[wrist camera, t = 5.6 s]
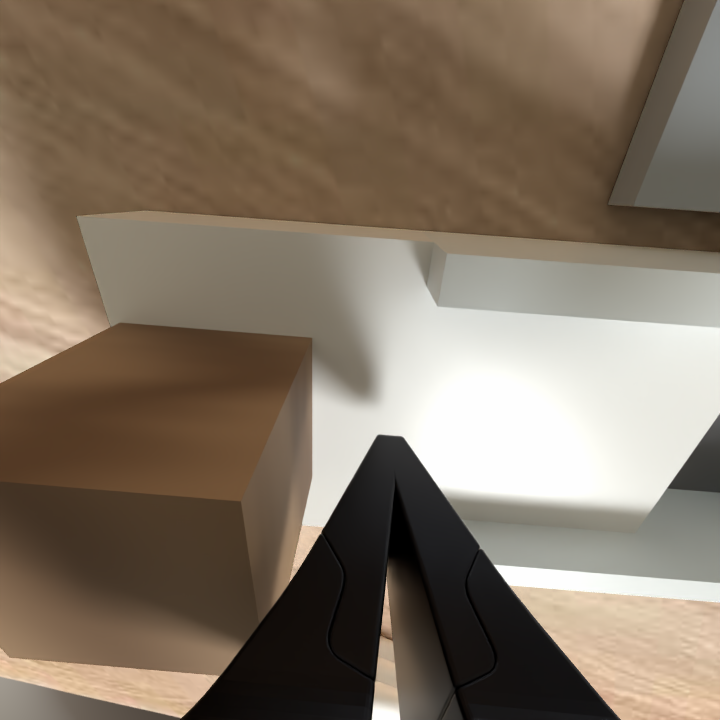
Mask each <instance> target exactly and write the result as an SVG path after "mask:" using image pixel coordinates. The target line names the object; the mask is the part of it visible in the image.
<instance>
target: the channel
mask: <svg viewBox="0 0 720 720" xmlns="http://www.w3.org/2000/svg"><path fill="white" fill-rule="evenodd" d="M76 217H77V220H78V224H79V227H80V230H81V233H82V237H83V240H84V243H85V246H86V250H87V253H88V256H89V259H90V262H91V266H92V269H93V272H94V275H95V279H96V282H97V285H98V288H99V291H100V295H101V298H102V301H103V304H104V308H105V311H106V314H107V317H108V320H109V324H110V327H112V326H114V325H116V324H118V323H132V324H145V325H157V326H170V327H183V328H195V329H208V330H221V331H233V332H246V333H259V334H271V335H284V336H297V337H309V338H312V481H311V485H310V490H309V494H308V499H307V503H306V508H305V512H304V517H303V521H302V525H305V526H317V527H325V525H326V523H327V521H328V520H329V518H330V516H331V514H332V513H333V511H334V509H335V507H336V506H337V504H338V502H339V500H340V499H341V497H342V495H343V493H344V492H345V490H346V488H347V486H348V485H349V483H350V481H351V480H352V478H353V476H354V474H355V473H356V471H357V469H358V467H359V466H360V464H361V462H362V460H363V459H364V457H365V455H366V453H367V452H368V450H369V448H370V446H371V445H372V443H373V441H374V439H375V438H376V436H377V435H379V434H382V435H393V436H402V437H404V438H405V440H406V441H407V443H408V444H409V446H410V447H411V448H412V450H413V451H414V453H415V454H416V456H417V457H418V458H419V460H420V461H421V463H422V464H423V465H424V467H425V468H426V470H427V471H428V473H429V474H430V475H431V477H432V478H433V480H434V481H435V483H436V484H437V485H438V487H439V488H440V490H441V491H442V492H443V494H444V495H445V497H446V498H447V500H448V501H449V502H450V504H451V505H452V507H453V508H454V510H455V511H456V512H457V514H458V515H459V517H460V518H461V519H462V521H463V522H464V524H465V525H466V527H467V528H468V529H469V531H470V532H471V534H472V535H473V537H474V538H475V539H476V541H477V542H478V544H479V545H480V549H483V550H484V552H485V553H486V555H487V556H488V558H489V559H490V560H491V562H492V563H493V565H494V566H495V567H496V569H497V570H498V572H499V573H500V574H501V576H502V577H503V578H504V580H505V581H506V582H507V584H508V585H512V586H525V587H537V588H549V589H561V590H574V591H586V592H598V593H610V594H622V595H635V596H647V597H659V598H671V599H684V600H696V601H708V602H720V252H709V251H695V250H681V249H668V248H654V247H640V246H627V245H613V244H599V243H586V242H572V241H558V240H544V239H531V238H517V237H503V236H490V235H476V234H462V233H449V232H435V231H421V230H407V229H394V228H380V227H366V226H353V225H339V224H325V223H311V222H298V221H284V220H270V219H257V218H243V217H229V216H216V215H202V214H188V213H174V212H161V211H147V210H145V211H133V212H120V213H107V214H95V215H82V216H76Z"/></svg>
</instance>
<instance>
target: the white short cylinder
mask: <svg viewBox="0 0 720 720" xmlns="http://www.w3.org/2000/svg"><path fill="white" fill-rule="evenodd" d="M372 720H400V712H399V702H398V691H397V680H396V670H395V659H394V649H393V641H392V640H390V639H387V638H385V637H382V636H380V644H379V654H378V663H377V673H376V681H375V692H374V702H373V713H372Z"/></svg>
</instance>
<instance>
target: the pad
mask: <svg viewBox="0 0 720 720" xmlns="http://www.w3.org/2000/svg"><path fill="white" fill-rule="evenodd" d="M608 205H618V206H632V207H646V208H660V209H674V210H688V211H702V212H715V213H720V0H684V2H683V4H682V7H681V10H680V12H679V15H678V18H677V20H676V23H675V26H674V28H673V31H672V34H671V36H670V39H669V42H668V45H667V47H666V50H665V53H664V55H663V58H662V61H661V63H660V66H659V69H658V71H657V74H656V77H655V79H654V82H653V85H652V87H651V90H650V93H649V95H648V98H647V101H646V103H645V106H644V109H643V111H642V114H641V117H640V119H639V122H638V125H637V127H636V130H635V133H634V135H633V138H632V141H631V143H630V146H629V149H628V151H627V154H626V157H625V159H624V162H623V165H622V167H621V170H620V173H619V175H618V178H617V181H616V183H615V186H614V189H613V191H612V194H611V197H610V199H609V202H608Z"/></svg>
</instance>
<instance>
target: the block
mask: <svg viewBox="0 0 720 720" xmlns="http://www.w3.org/2000/svg"><path fill="white" fill-rule="evenodd" d="M311 481H312V338H309V337H297V336H284V335H271V334H259V333H246V332H233V331H221V330H208V329H195V328H183V327H170V326H157V325H145V324H132V323H118V324H116V325H114V326H112V327H110V328H108V329H106V330H104V331H102V332H100V333H98V334H96V335H95V336H93V337H91V338H89V339H87V340H85V341H83V342H81V343H79V344H77V345H75V346H73V347H71V348H69V349H67V350H65V351H63V352H61V353H59V354H57V355H55V356H53V357H51V358H49V359H47V360H45V361H43V362H41V363H40V364H38V365H36V366H34V367H32V368H30V369H28V370H26V371H24V372H22V373H20V374H18V375H16V376H14V377H12V378H10V379H8V380H6V381H4V382H2V383H0V648H1V649H2V650H3V651H4V652H5V653H6V654H7V655H8V656H9V657H10V658H21V659H32V660H44V661H55V662H67V663H78V664H90V665H102V666H113V667H125V668H136V669H148V670H159V671H171V672H182V673H194V674H206V675H217V676H220V675H221V674H222V673H223V671H224V670H225V669H226V668H227V666H228V665H229V664H230V662H231V661H232V660H233V658H234V657H235V656H236V654H237V653H238V652H239V650H240V649H241V648H242V646H243V645H244V644H245V642H246V641H247V640H248V638H249V637H250V636H251V634H252V633H253V632H254V630H255V629H256V628H257V626H258V625H259V624H260V622H261V621H262V620H263V618H264V617H265V616H266V614H267V613H268V612H269V610H270V609H271V608H272V606H273V605H274V604H275V602H276V601H277V600H278V598H279V597H280V596H281V594H282V593H283V591H284V590H285V589H286V587H287V586H288V584H289V580H290V575H291V571H292V566H293V562H294V557H295V553H296V548H297V544H298V539H299V535H300V530H301V526H302V521H303V517H304V512H305V508H306V503H307V499H308V494H309V490H310V485H311Z"/></svg>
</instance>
